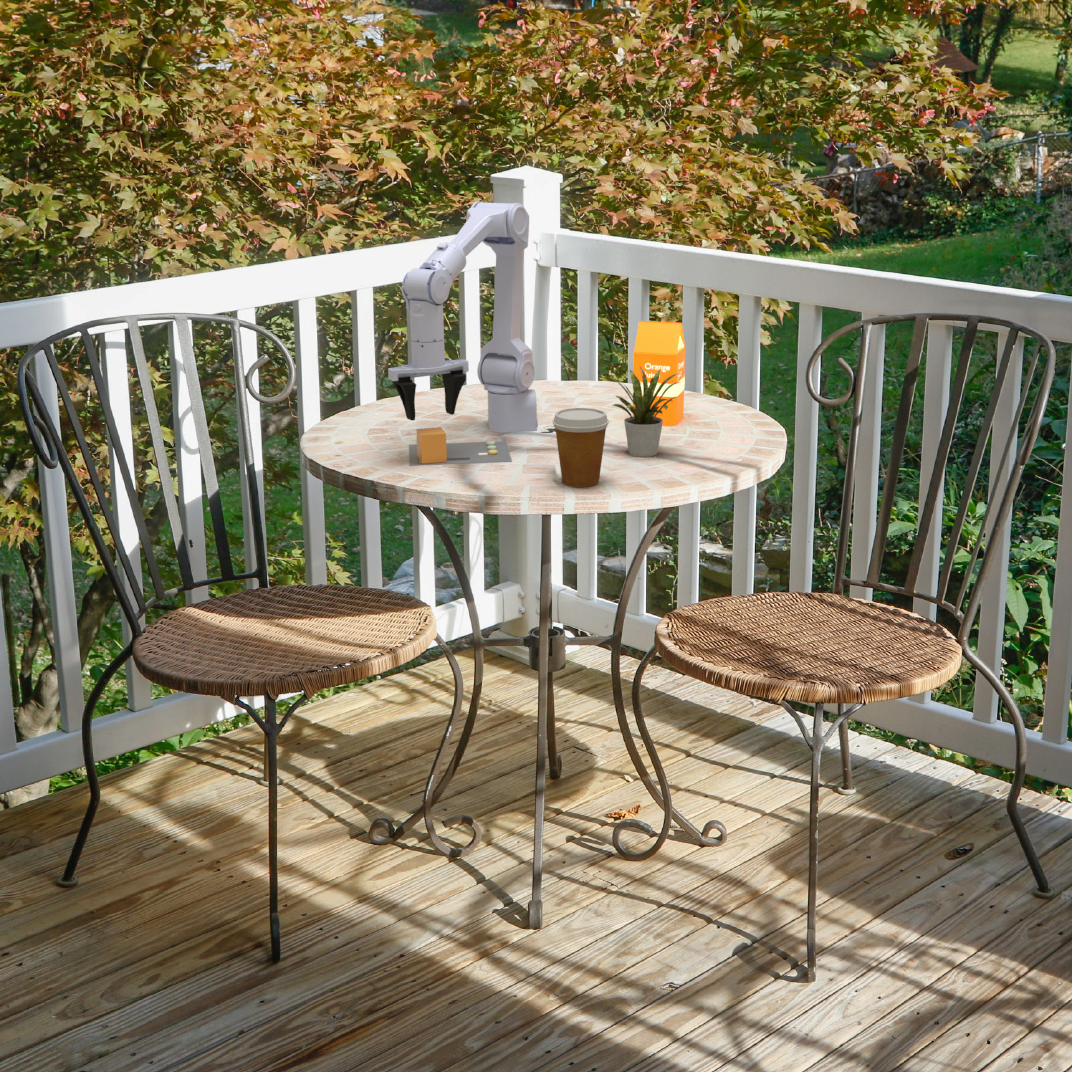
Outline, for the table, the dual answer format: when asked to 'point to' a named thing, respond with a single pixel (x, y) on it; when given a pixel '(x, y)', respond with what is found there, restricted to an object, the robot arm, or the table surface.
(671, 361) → the orange juice
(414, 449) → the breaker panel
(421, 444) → the cap
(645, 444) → the house plant
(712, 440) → the table surface
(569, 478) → the disposable coffee cup
